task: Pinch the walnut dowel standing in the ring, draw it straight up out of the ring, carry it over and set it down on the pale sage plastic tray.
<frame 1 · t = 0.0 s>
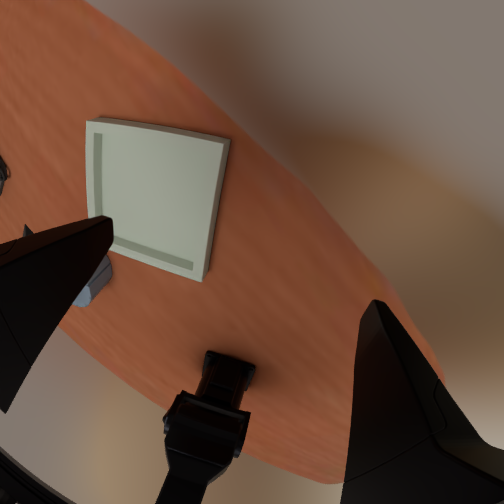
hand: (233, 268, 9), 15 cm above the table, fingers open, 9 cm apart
tray: (151, 194, 26), on the table
ring: (88, 260, 32), on the table
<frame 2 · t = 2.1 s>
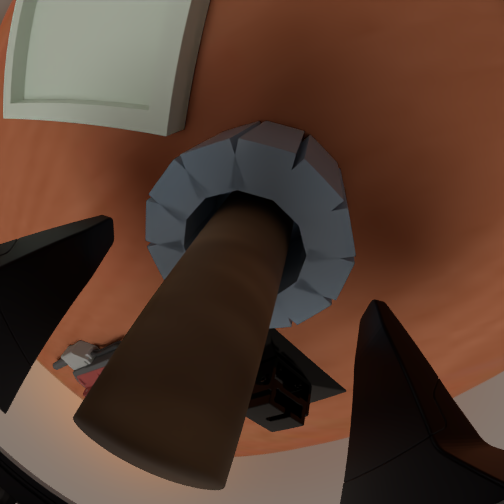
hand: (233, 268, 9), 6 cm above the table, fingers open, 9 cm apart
black angular piece: (282, 365, 21), on the table
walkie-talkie: (105, 365, 29), on the table
tray: (98, 6, 10), on the table
dowel: (262, 207, 13), point 1 cm above the table, touching ring
ring: (265, 201, 14), on the table
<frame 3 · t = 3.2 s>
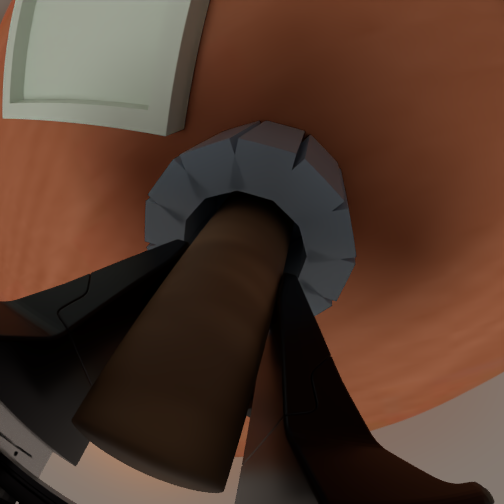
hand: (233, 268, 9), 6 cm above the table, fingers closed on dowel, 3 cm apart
tray: (98, 5, 9), on the table
dowel: (262, 208, 13), point 1 cm above the table, touching ring, gripper
ring: (265, 201, 14), on the table
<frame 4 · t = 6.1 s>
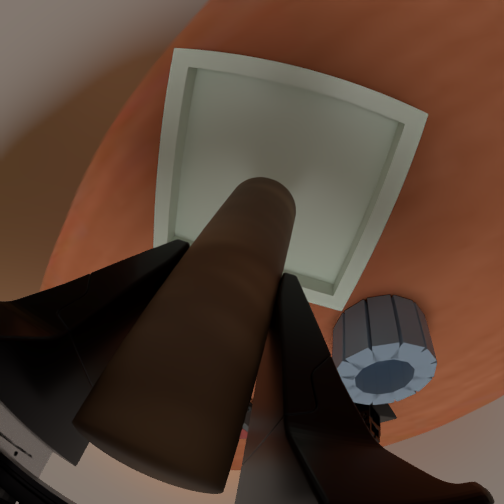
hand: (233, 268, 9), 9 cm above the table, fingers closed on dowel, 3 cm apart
black angular piece: (362, 403, 28), on the table
tray: (274, 178, 17), on the table
dowel: (262, 209, 13), point 4 cm above the table, touching gripper
ring: (380, 331, 21), on the table
when the fingers open (6 cm above the table, at t = 7.2 s): dowel drops 1 cm, resting on tray.
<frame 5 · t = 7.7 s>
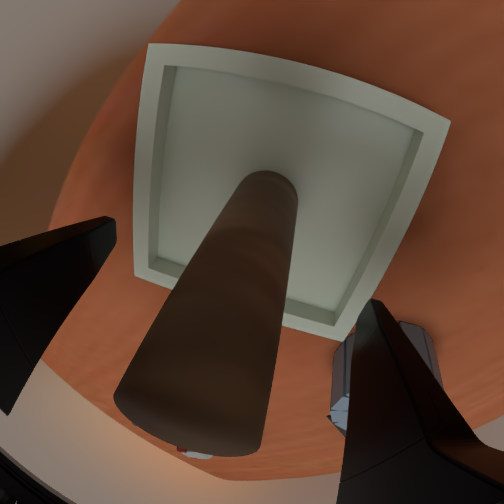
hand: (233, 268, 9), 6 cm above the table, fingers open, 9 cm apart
tray: (268, 194, 14), on the table
dowel: (266, 200, 14), point 1 cm above the table, touching tray
ring: (384, 358, 19), on the table
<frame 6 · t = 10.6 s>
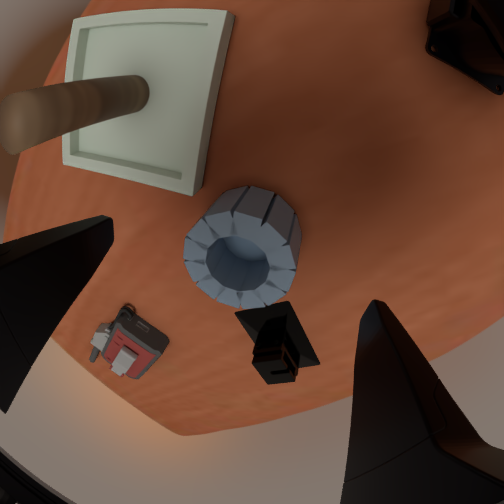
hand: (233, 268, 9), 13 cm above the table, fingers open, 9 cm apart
black angular piece: (281, 335, 29), on the table
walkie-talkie: (126, 343, 37), on the table
tray: (136, 92, 19), on the table
dowel: (132, 93, 18), point 1 cm above the table, touching tray
ring: (252, 232, 23), on the table
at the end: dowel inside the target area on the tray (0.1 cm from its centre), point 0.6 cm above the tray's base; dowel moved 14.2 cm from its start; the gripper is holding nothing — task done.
